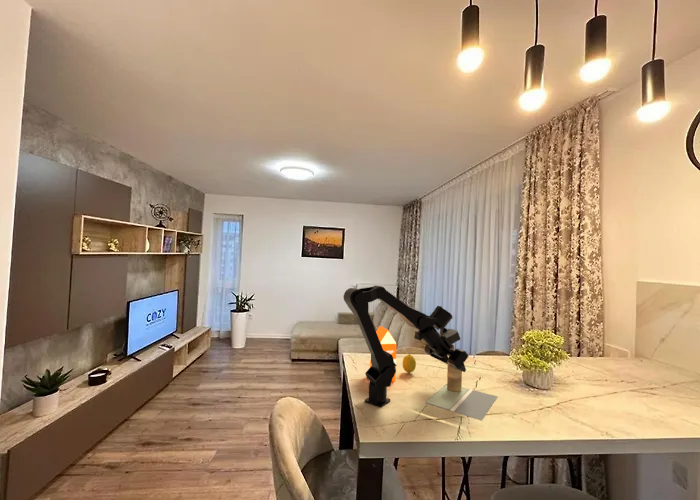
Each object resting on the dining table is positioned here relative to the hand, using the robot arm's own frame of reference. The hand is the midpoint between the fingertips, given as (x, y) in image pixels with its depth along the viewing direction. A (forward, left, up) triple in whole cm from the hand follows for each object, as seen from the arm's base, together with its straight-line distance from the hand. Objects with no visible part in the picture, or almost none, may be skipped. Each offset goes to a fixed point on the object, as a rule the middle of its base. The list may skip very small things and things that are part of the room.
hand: (457, 367), depth 117 cm
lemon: (+5, +22, -9) cm, 24 cm away
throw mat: (-8, -4, -8) cm, 12 cm away
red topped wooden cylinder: (-1, +1, -8) cm, 8 cm away
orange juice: (-7, +28, -9) cm, 30 cm away
